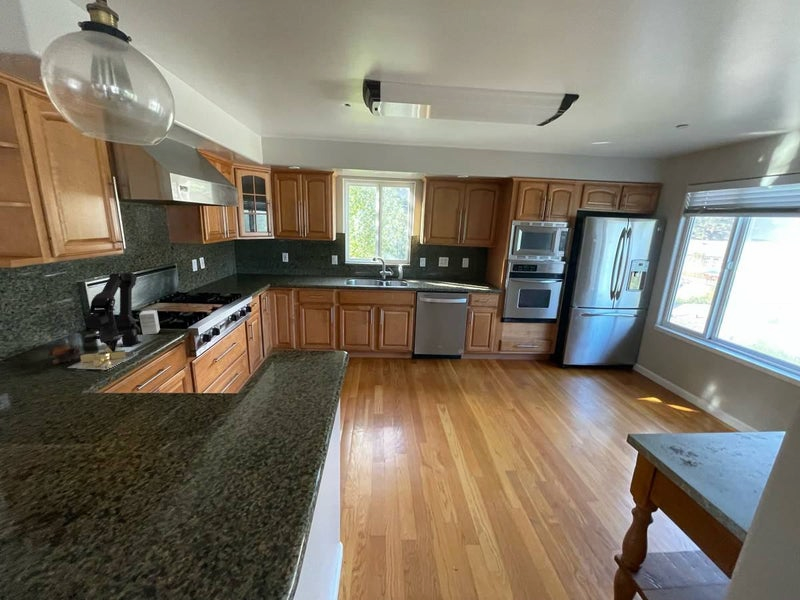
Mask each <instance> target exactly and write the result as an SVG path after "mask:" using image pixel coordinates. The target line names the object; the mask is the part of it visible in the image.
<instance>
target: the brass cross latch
mask: <svg viewBox="0 0 800 600" xmlns="http://www.w3.org/2000/svg"><path fill="white" fill-rule="evenodd" d="M125 352H126V351H125V349H124V350H123V349H122V350H115V351H113V352H112V351H111V349H110V348H109V347H108V346H107V347H106V348H105V349H103V351H98V352H95V353H85V354H82V355H80V361H81V362H89V361H93V362H94V366H100V365H101V364H102V363H103V362H104V361H107V360H110V359H115V358H123V357H125V356H126V355H125Z"/></svg>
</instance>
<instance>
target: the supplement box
mask: <svg viewBox="0 0 800 600" xmlns="http://www.w3.org/2000/svg"><path fill="white" fill-rule="evenodd" d="M138 315H139V322H140V329H141V332H142V335H143V336H145V335H154V334H158V333H159V331H160V330H161V328H160V321H159V315H158V311H157V309H156V310H155V309H152V310H143V311H141V312H140V313H139V314H138Z"/></svg>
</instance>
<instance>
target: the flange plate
mask: <svg viewBox="0 0 800 600" xmlns="http://www.w3.org/2000/svg"><path fill="white" fill-rule="evenodd" d="M125 355H126V356H125V357H123V358H115V359H110V360H107V361H104V362H103V363H102V364H101V365H100V366H94V362H93V361H89V362H81V360H80V361H79V362H78V361H77V363H74V364H72V365H70V366H68V367H66V369H67V368H77V369H109V368H112V367H114V366H116V365H118V364H120V363H122V362H124V363H126V362H128V360H131V359H133V358H135V357H136V356H138V355H139V352H137V351H136V352H135V351H133V352H131V351H125ZM122 364H123V363H122ZM120 365H121V364H120ZM118 366H119V365H118ZM116 367H117V366H116ZM114 368H115V367H114ZM112 369H113V368H112Z"/></svg>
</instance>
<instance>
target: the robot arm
mask: <svg viewBox="0 0 800 600" xmlns="http://www.w3.org/2000/svg"><path fill="white" fill-rule="evenodd" d="M137 279H138V278H137V274H134V272H112V273H110V274H109V278H108V280H107V281H106V282H105V283H106V284H105V285H104V287H103V289H102V291H101V292H99V293H97V294H96V295H94V296H93V298H92V300H91V302H90V306H89V311H88V313H89V316H88V317H87V318H86V319H85V325H86V326H87V327H88V328H90V329H93V330H95V329H98V328H99V332H98V333H99V334H98V333H89V334H86V335H85V336H84V337H83V338H82V342H83V344H91V343H93V342H94V341H95V340H99V341H100V343H101V344H102V343H103V344H105V345H106V346H107V347H109V348H110V349H111V351H112V352H113V351H117V350H116V349H117V346H118V341H120V340H121V342H122V344H120V347H134V346H136V345H138V344H139V343H142V341H141V340H139V338H138V334H140V333H141V326H139V325H138V324H137V322H136V319H135V318H134V317H133V316H132V315H133V313H132V312H133V310H132V308H133V305H132V304H133V303H132V302H133V298H132V295H133V294H132V289H134V287H135V286H136V282H137ZM118 289H119V316H118V317H117V318H115V315H114V312H115V310H116V309H115V308H114V307H115V305H116V299H115V296H116V294H117V292H118Z"/></svg>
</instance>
